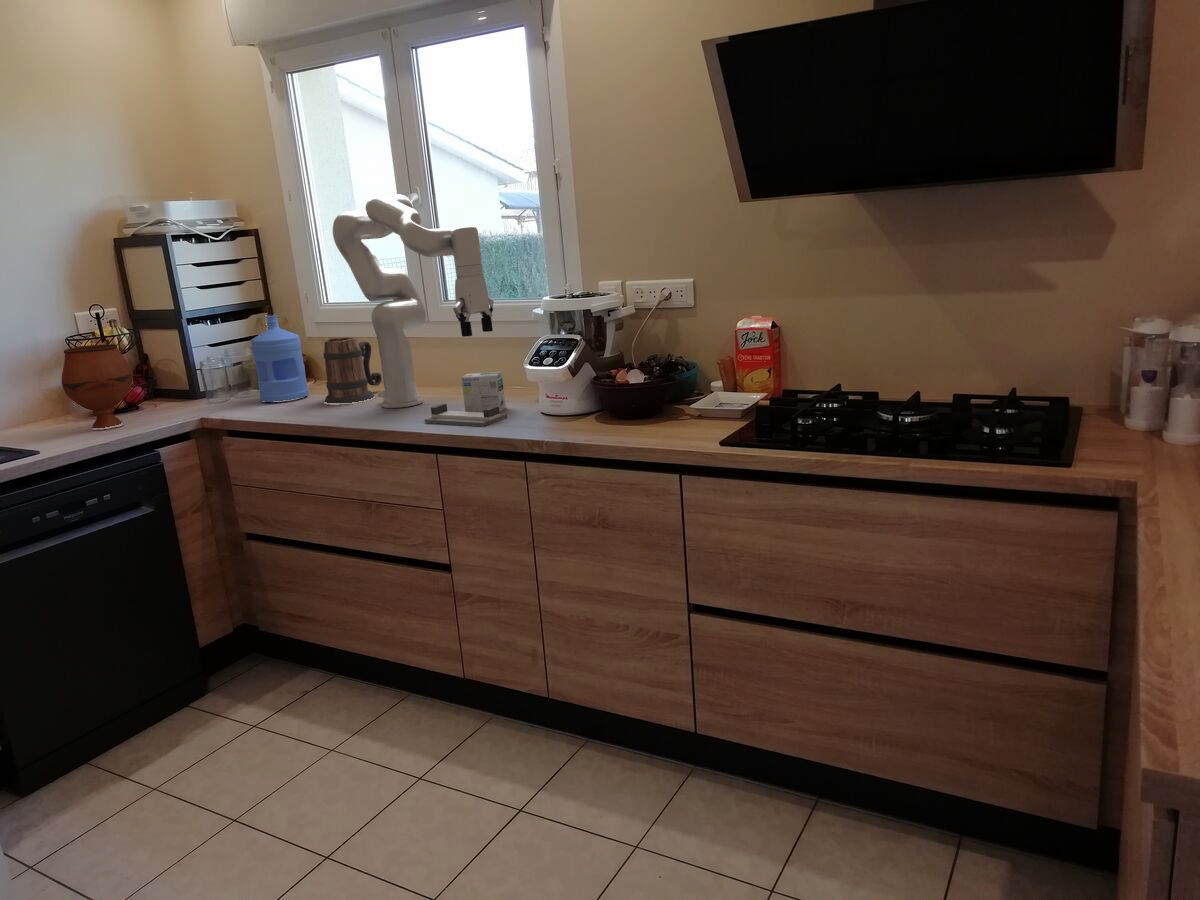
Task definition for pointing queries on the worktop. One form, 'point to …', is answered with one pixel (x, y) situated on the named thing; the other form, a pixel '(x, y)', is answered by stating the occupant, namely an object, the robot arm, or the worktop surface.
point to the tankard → (348, 370)
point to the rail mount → (464, 416)
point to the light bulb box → (483, 391)
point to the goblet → (97, 380)
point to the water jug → (279, 364)
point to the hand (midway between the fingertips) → (477, 333)
